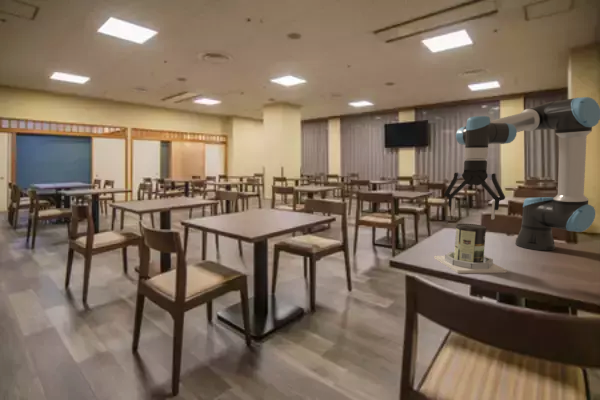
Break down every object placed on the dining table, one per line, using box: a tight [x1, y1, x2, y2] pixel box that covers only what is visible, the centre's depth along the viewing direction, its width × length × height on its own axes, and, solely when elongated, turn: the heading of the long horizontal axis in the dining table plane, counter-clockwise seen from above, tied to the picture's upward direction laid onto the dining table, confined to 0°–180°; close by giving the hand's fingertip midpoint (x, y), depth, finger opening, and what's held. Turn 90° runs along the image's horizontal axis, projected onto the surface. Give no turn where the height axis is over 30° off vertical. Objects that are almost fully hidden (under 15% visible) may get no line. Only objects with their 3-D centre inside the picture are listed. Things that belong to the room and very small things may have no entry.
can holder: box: [433, 251, 507, 274], centre depth 131 cm, size 18×18×3 cm
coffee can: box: [454, 223, 487, 263], centre depth 130 cm, size 10×10×14 cm
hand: (472, 217), depth 129 cm, fingers open, 13 cm apart
